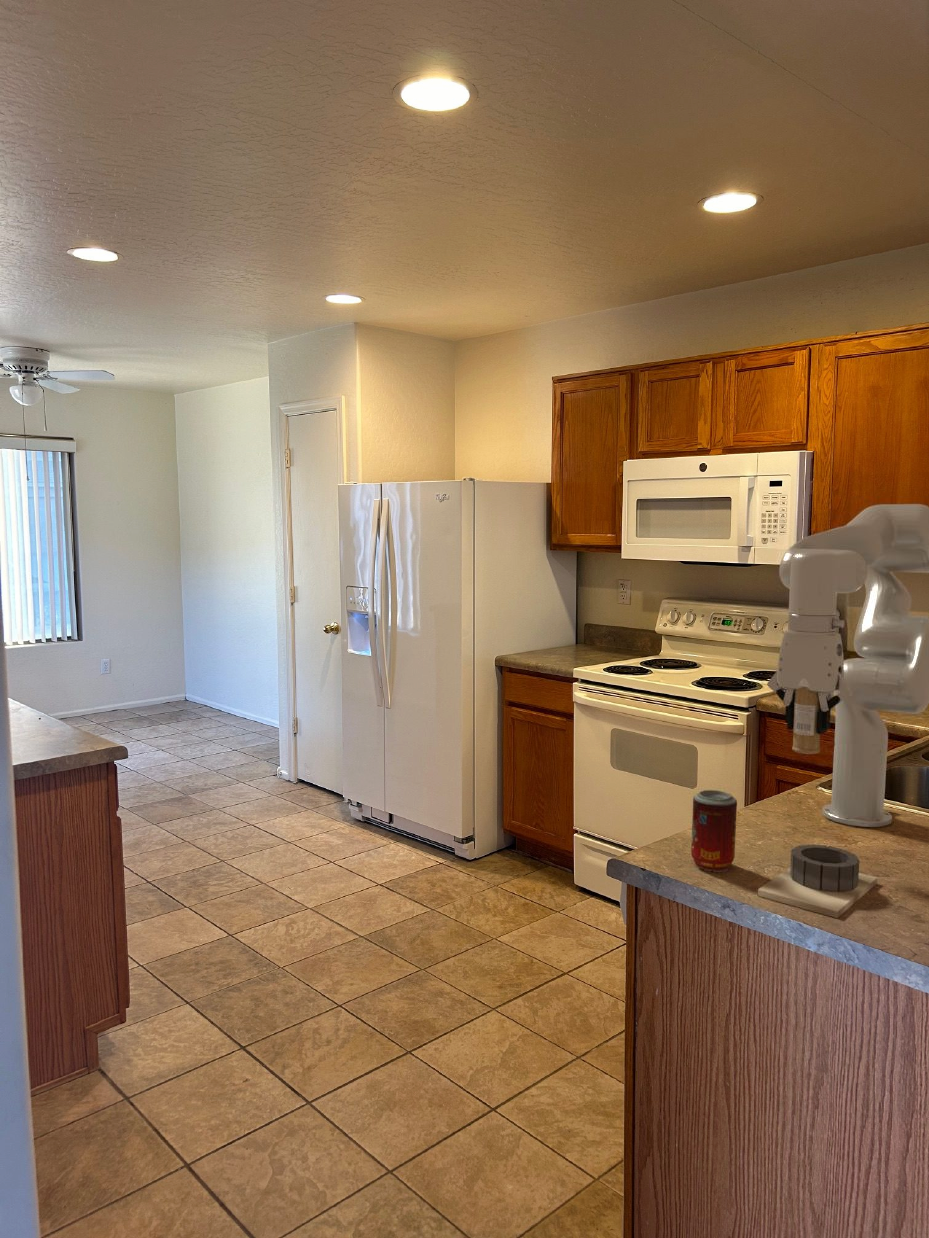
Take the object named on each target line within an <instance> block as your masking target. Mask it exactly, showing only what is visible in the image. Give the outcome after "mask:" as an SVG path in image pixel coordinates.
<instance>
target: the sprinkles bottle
mask: <svg viewBox="0 0 929 1238" xmlns="http://www.w3.org/2000/svg"><path fill="white" fill-rule="evenodd" d="M798 686H800V687H803V688H799V689H798V690H795V702H794V726H793V729H792V730H793V731H792V732H793V739H792V742H793V744H792V747H791V749H792V751H794V752H795V753H799V754H802V755H803V754H805V755H815V754H816V755H817V754H819V753H820V752H821V748H820V746H821V745H820V743H821V734H818V733H817V732H816V730H817V712H818V711H819V710H820V701H819V696H818V693H816V692H812V691H810V689H808V687H810V686H809V684H808V682H807V680H806V679H804V678H803V679H801V681H800V682H799V685H798Z"/></svg>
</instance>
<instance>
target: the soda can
mask: <svg viewBox="0 0 929 1238" xmlns="http://www.w3.org/2000/svg"><path fill="white" fill-rule="evenodd" d="M737 807H738V802H737V799H736V798H735V797H734V796H733V795H732V794H731V793H728V792H725V791H721V790H716V789H705V790H702V791H701V790H700V792H698V793H696V794H695V795H694V796H693V798H692V820H691V821H692V826H691V848H690V854H691V855H690V856H691V857H692V859H693V861H694V865H695V867H696V868H698V869H700V868H701V870H702V869H704V870H703V871H707V872H711V871H713V873H714V872H715V873H716V872H719V873H720V872H722V871H723V872H727V871H728V869H730V868H731V864H732V863H733V862H734V860H735V858H736V856H735V853H736V834H737V833H736V830H737V825H736V824H737V811H738V810H737Z"/></svg>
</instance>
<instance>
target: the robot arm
mask: <svg viewBox="0 0 929 1238" xmlns="http://www.w3.org/2000/svg"><path fill="white" fill-rule="evenodd" d="M778 572H779V574H778V575H779V578H780V581H781V583H782V585H784V587H785V588H787V589H789V597H788V598H789V601H788V619H787V621H788V622H787V623H788V625H787V630H785V631H783V636H782V638H781V642H780V643H781V644H780V648H779V653H778V661H777V669H776V670H777V671H776V672H775V673H774V674H773V675H772V677H771V678H770V679H769V680H768V681H767V684H766V685H767V686H768V688H769V689H771V690H772V691H773V692H774V693H776V694H775V695H776V696H777V697H778V698H779V699H780V700H781V702H782V704H783V706H784V707H785V715H784V716H785V718H784V722H785V724H786V729H787V730H793V726H794V702H795V690H798V689H799V688H803V687H800V686H798V685H799V682H800V681H801V679H803V678H804V679H806V680H807V682H808V684H809V686H810V687H808V689H810V691H812V692H816V693H818V696H819V701H820V710H819V711H818V712H817V730H816V732H817V733H818V734H820V735H823V734H825V733H827V732H828V730H829V729H830V727H831V711H832V710H833V709H834V708H835V709H834V710H835V720H834V721H835V725H834V727H835V729H834V747H833V750H834V751H833V763H832V766H833V767H832V785H831V801H830V802H831V803H829V804H828V803H827V804H825V805H824V806H822V810H821V811H822V812H821V813H822V815H823V816H824V817H825V818H827V819H828V820H831V821H833V822H836V823H839V824H844V825H847V826H854V827H863V828H880V827H885V826H889V825H890V824H891V823H892V822H893V815H892V814H891V813H890V812H888V811H887V810H885V809H884V808H885V807H884V806H885V792H886V777H887V776H886V774H887V757H888V744H889V741H888V740H889V732H888V729H887V726H886V724H885V721H884V720H883V719H882V717H881V716H880V714H879V712H878V711H885V712H893V713H901V714H909V715H917V714H920V713H922V712H924V711H926V709H927V708H928V706H929V616H923V615H912V614H910V610H911V606H912V595H911V594H910V592H909V591H908V589H907V588H906V586H905V585H904V584H903V583H902V582H901V580H900V579H899V578H897V576H895V574H894V572H895V573H915V574H916V573H917V574H918V573H919V574H929V506H928V505H926V504H920V503H909V504H908V503H903V504H900V503H897V504H893V503H892V504H889V503H888V504H885V503H883V504H882V503H881V504H875V505H870V506H868V507H866V508H864V509H863V510H862V511H860V512H859V513H858V514H857V515H856V516H855V517H854V518H852V520H851V521H848V523H846V524H845V525H844V526H843V525H842V526H839V527H835V528H832V529H829V530H826V531H822V532H819V533H815V534H814V533H813V534H811V535H808V536H806V537H803V538H801V539H799V540H798V541H797V542H795V543H794V544H793V545H792V546H790V547H789V548H788V550H786V552H785V553H784V554H783V556H782V558H781V561H780V565H779V570H778ZM863 585H864V587H865V600H864V603H863V606H862V608H861V611H860V616H859V619H858V622H857V625H856V628H855V633H854V638H853V649H854V651H855V652H856V654H857V655H858V656H860V657H856V658H854V657H853V658H847V659H845V660H844V648H843V642H842V641H843V640H842V636H841V633H837V629H843V628H844V627H845V620H844V619H840V618H838V615H837V599H838V594H850V593H854V592H857V591H858V590H860V589H861V588H862V587H863ZM861 657H862V658H861Z"/></svg>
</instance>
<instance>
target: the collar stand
mask: <svg viewBox="0 0 929 1238" xmlns="http://www.w3.org/2000/svg"><path fill="white" fill-rule="evenodd" d="M877 884H878V877H876V876H873V875H869V874H864V873H861V872H860V859H859V858H858V856H857V855H856V854H855V853H852V852H850V851H848V850H846V849H843V848H841V847H840V848H839V847H835V846H830V845H828V846H827V845H824V844H802V845H801V844H800V845H797V846H795V847H794V848H791V850H790V867H788V869H786V870H784V871H783V872H780V874H778V875H777V876H775V877H774V878H773V879H771V880H770V881H768V882H767V883H765V884H764V885H763V886H761V887H759V888H758V889H757V896H758V897H761V898H764V899H768V900H772V901H775V902H779V903H783V904H786V905H788V906H789V905H790V906H793V907H797V908H801V909H804V910H806V911H809V912H810V911H811V912H814V913H818V914H821V915H823V916H829V917H831V918H835V919H838V918H839V917H840V916H842V915H843V914H844V913H845V912H846V911H848V910H849V909H850V908H851V907H852V906H853V905H854V904H855V903H856V902H858V901H859V900H860V899H861V898H862V897H863V896H865V895H866V894H867V893H868V892H869V891H871V889H872V888H874V887H875V886H876V885H877Z"/></svg>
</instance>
